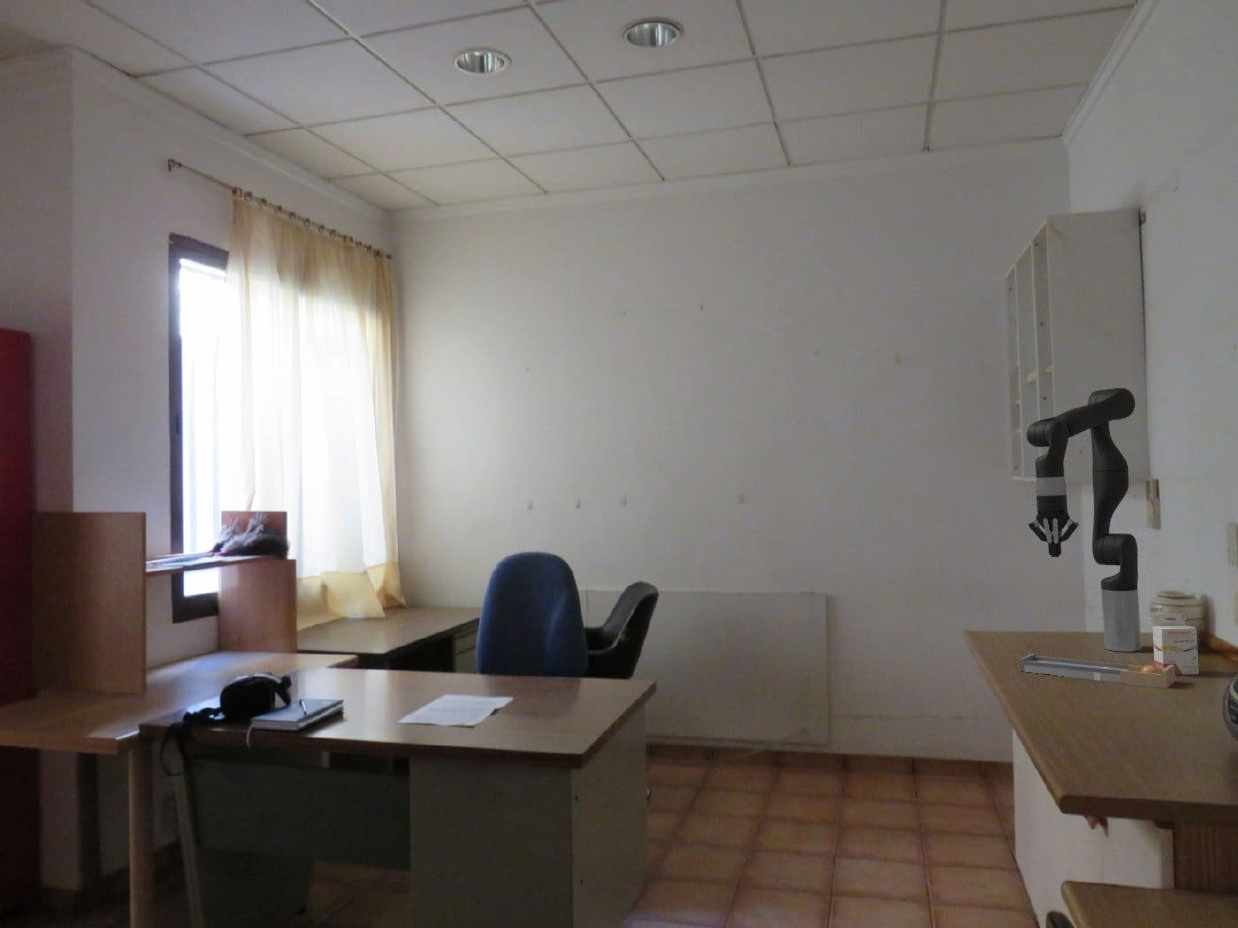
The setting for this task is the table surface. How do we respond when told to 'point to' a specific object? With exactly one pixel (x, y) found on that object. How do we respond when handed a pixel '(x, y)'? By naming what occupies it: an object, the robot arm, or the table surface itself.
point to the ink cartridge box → (1175, 643)
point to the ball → (1150, 669)
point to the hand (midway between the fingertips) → (1055, 556)
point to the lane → (1098, 671)
